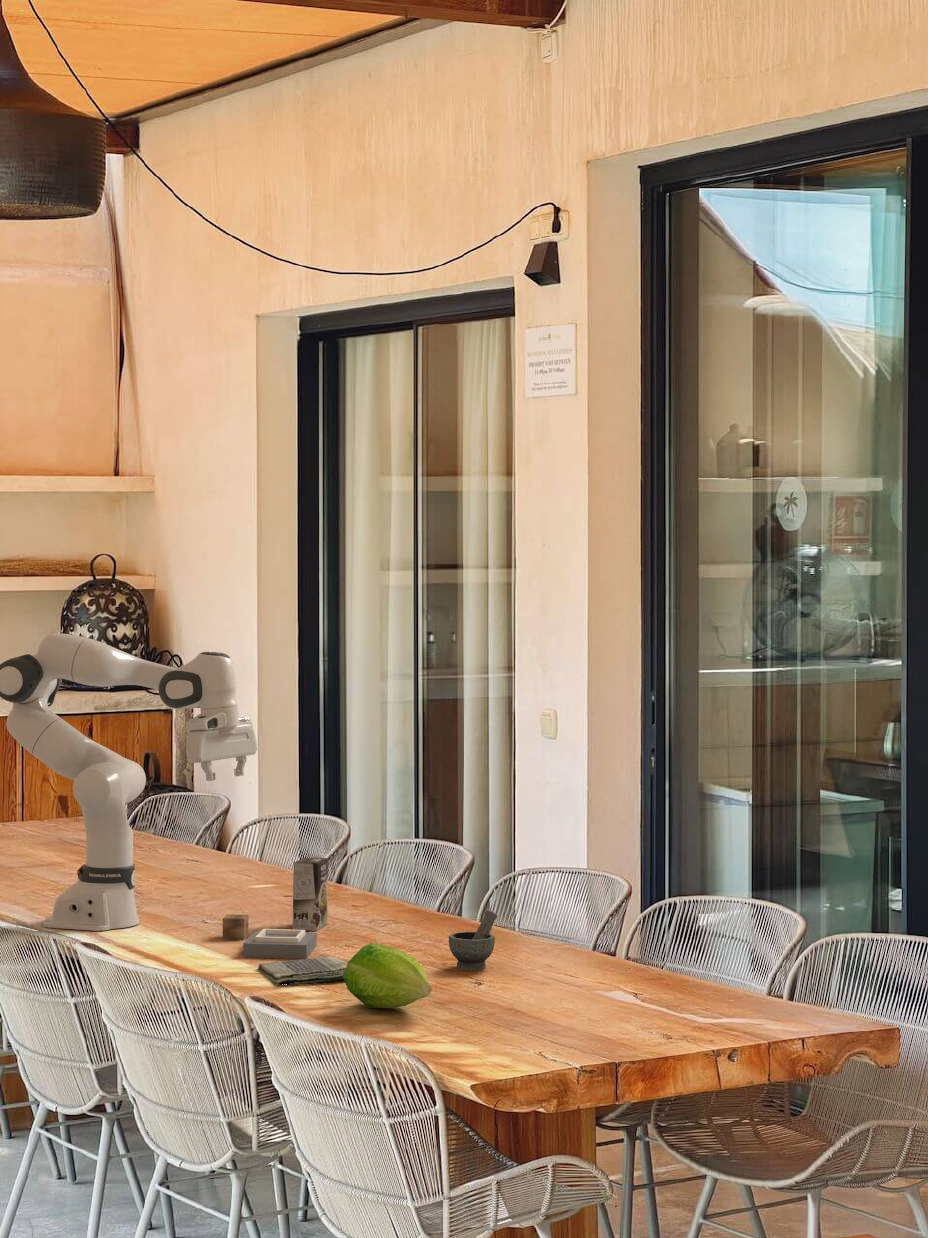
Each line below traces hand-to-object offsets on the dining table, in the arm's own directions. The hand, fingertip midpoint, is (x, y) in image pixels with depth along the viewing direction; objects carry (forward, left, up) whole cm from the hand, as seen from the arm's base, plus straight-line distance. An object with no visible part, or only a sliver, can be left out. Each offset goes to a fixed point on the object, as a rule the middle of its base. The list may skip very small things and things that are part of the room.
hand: (225, 778), depth 425 cm
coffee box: (+20, +6, -36) cm, 41 cm away
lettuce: (+49, -75, -36) cm, 96 cm away
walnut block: (+5, -9, -36) cm, 37 cm away
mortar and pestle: (+62, -34, -36) cm, 79 cm away
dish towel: (+28, -46, -37) cm, 65 cm away
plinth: (+18, -23, -36) cm, 46 cm away
